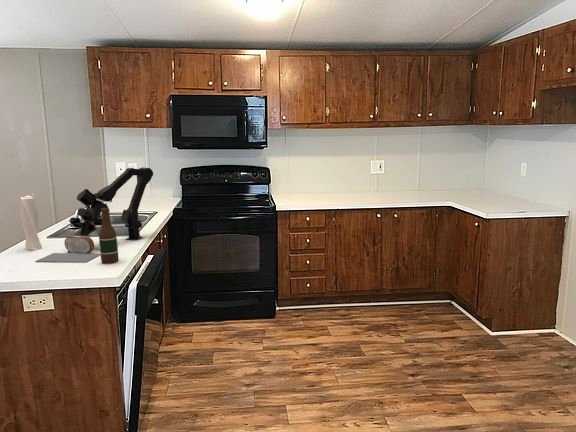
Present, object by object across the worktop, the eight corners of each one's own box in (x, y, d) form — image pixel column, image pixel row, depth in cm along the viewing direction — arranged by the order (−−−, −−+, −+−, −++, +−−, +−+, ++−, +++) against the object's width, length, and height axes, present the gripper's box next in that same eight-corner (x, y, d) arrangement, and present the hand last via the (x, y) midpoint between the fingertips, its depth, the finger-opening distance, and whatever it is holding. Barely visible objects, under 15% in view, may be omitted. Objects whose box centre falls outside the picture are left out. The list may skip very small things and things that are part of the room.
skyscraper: (46, 247, 237) (39, 192, 232) (33, 251, 230) (26, 194, 225) (34, 246, 239) (27, 191, 234) (21, 250, 233) (14, 193, 227)
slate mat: (53, 253, 224) (53, 252, 224) (101, 254, 222) (101, 253, 222) (35, 262, 210) (35, 261, 210) (86, 262, 208) (86, 261, 208)
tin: (95, 253, 224) (93, 235, 223) (91, 254, 222) (89, 237, 220) (69, 251, 228) (67, 234, 227) (64, 253, 225) (62, 235, 224)
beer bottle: (97, 261, 209) (92, 208, 205) (114, 258, 214) (109, 206, 210) (105, 265, 204) (100, 210, 199) (122, 261, 209) (117, 208, 204)
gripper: (69, 201, 231) (55, 227, 222) (102, 202, 225) (88, 229, 217) (82, 214, 239) (69, 240, 231) (114, 215, 234) (101, 242, 226)
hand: (81, 237), depth 226 cm, fingers closed
